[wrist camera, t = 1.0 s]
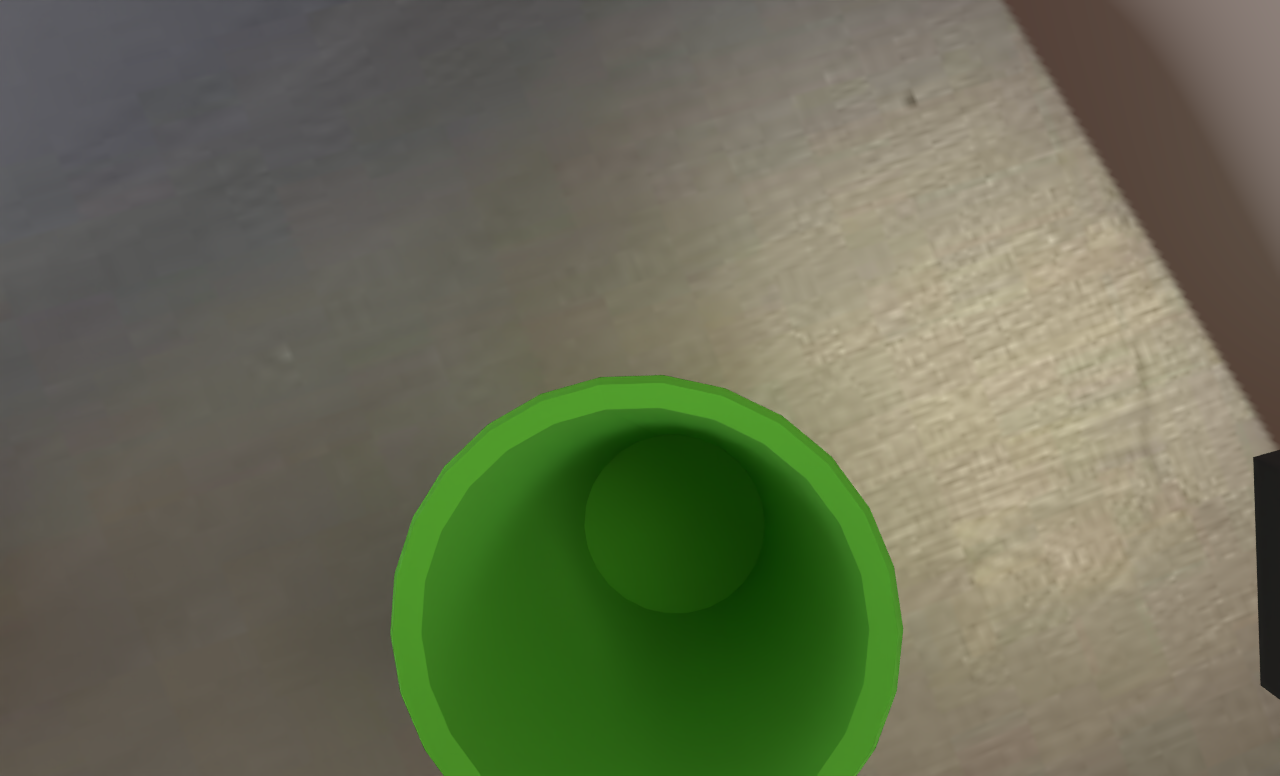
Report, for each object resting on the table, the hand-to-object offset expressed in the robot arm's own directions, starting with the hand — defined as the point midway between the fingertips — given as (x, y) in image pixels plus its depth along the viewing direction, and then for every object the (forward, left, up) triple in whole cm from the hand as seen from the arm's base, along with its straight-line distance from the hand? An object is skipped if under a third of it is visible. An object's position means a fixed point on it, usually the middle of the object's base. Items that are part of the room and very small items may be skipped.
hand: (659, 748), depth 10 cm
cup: (+2, 0, -19) cm, 19 cm away
